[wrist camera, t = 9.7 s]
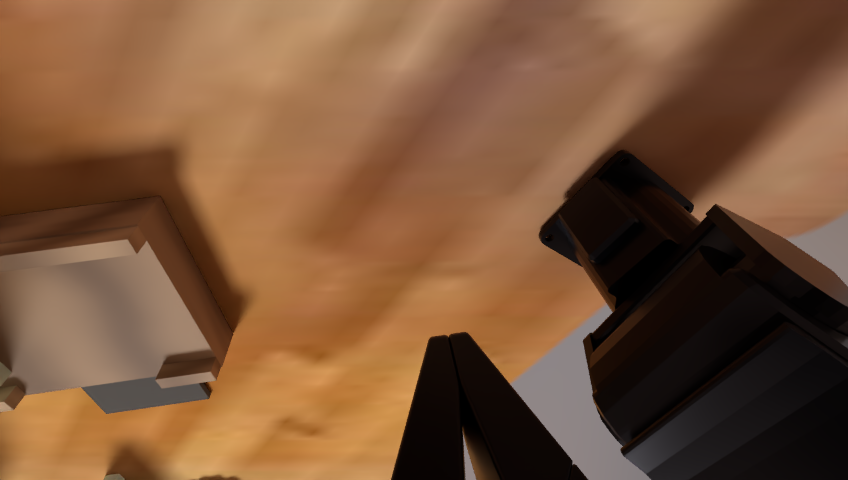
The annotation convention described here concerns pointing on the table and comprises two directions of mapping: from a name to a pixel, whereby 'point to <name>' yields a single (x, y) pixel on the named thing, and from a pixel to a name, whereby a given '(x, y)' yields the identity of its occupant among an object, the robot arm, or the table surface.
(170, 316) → the brown tray
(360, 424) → the table surface
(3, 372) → the block
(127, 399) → the pads
